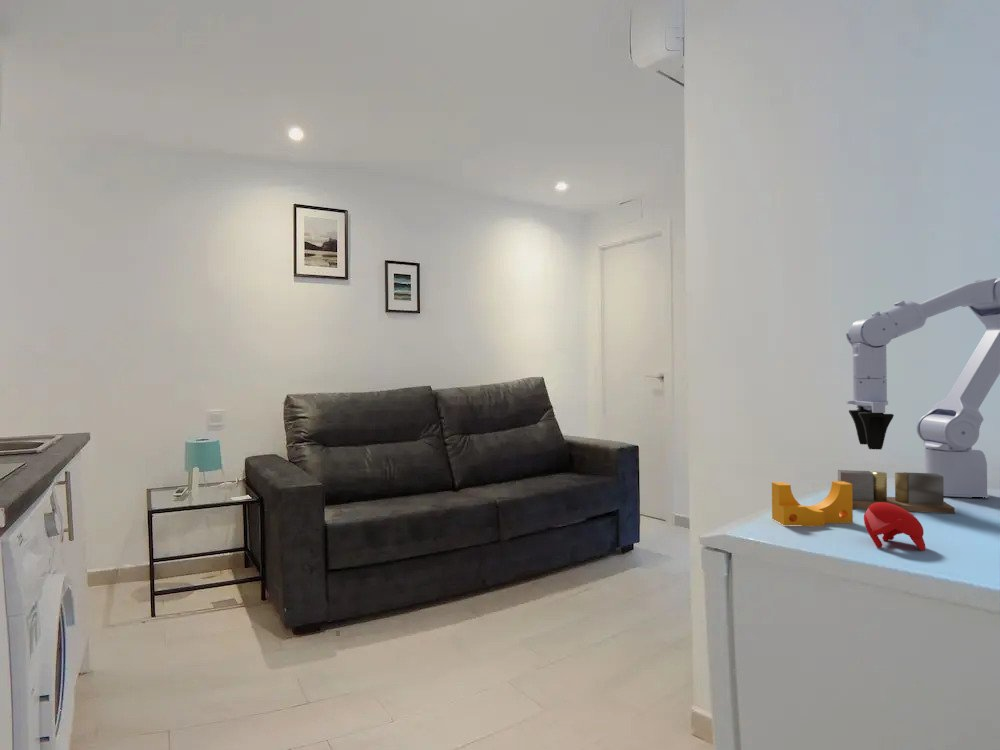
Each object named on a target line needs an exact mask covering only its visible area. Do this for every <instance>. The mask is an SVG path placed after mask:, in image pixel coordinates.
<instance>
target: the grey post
mask: <svg viewBox="0 0 1000 750" xmlns="http://www.w3.org/2000/svg"><path fill="white" fill-rule="evenodd" d="M887 475H888V474H887V472H883V471H869V470H845V469H838V470H837V481H844V482H847V483H850V484H852V500H855V501H881V502H885V501H887V497H888V481H887V480H888V477H887Z"/></svg>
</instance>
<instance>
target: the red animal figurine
mask: <svg viewBox="0 0 1000 750" xmlns="http://www.w3.org/2000/svg"><path fill="white" fill-rule="evenodd" d="M863 521H864V526H865V528H866V531H867V533H868V534H869V536H870V538H871V540H872V542H873V544H874V545H875V547H877V548H882V547H883V545H884V544H883V543H882V540H883V541H884V542H888V541H893V540H894V539H895V536H897V535H901V534H903V535H907V536H908V537H909V539H911V541H912V542H913V543H914V545H915V546H916V547H918V549H919V550H920V551H922V552H923V551H924V552H925V550H926V543H925V540H924V537H923V536H924V533H925V532H924V527H923V525H922V524H921V522H920V521H919V520H918V518H917V517H916V516H915V515H913V513H912V512H910V511H906V510H905V509H903V508H901V507H899V506H897V505H894V504H890V503H885V502H877V503H873V504H871V505H870V506H869V508H868V509H866V511H865V513H864V515H863ZM879 535H882V537H881V539H882V540H881V539H880V538H879Z"/></svg>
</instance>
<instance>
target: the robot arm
mask: <svg viewBox="0 0 1000 750" xmlns="http://www.w3.org/2000/svg"><path fill="white" fill-rule="evenodd" d="M893 305H894V306H893V307H891V308H888V309H886V310H883V311H875V312H872V313H871V317H869V318H862V319H858V320H855V321H854V322H853V323H852V325H850V326H849V329H848V332H846V333H845V336H846V340H847V341H848V343H849V344H850V345H851V347H852V379H853V380H852V390H853V391H852V398H853V399H847V400H846V404H847V405H854V406H855V405H856V409H849V410H848V413H849V415H850V416H851V418H852V421H853V423H854V427H855V430H856V435H857V439H858V442H859V444H860V445H867V448H868V449H869V450H883V447H884V443H885V438H886V434H887V430H888V427H889V425H890V423H891V422H892V420H893V419H894V416H895V415H894V414H893V413H886V406H888V405H889V400H888V393H887V391H888V389H887V388H888V383H887V382H888V379H887V377H888V376H887V373H888V372H887V368H888V367H887V345H888V344H889V343H890V342H892V341H891V340H894V339H896V338H899V337H901V336H903V335H906V334H908V333H911V332H913V331H916V330H918V329H921V328H922V327H924V325H925V324H926V322H927V319H929V318H931V317H933V316H937V315H939V314H942V313H944V312H947V311H950V310H953V309H955V308H959V307H963V308H965V307H967V308H969V309H970V310H971V312H972V313H973V314H974V315H975V316H976V317H977V318H978V319H979V321H980V322H981V323H982V324H983V325H984V327H985V329H986V331H985V332H984V334H983V336H982V337H981V339H980V340H979V343H978V344H977V346H976V347H975V350H974V351H973V353H972V354H971V355H970V357H969V359H968V361H967V363H966V364H965V365H964V367H963V369H962V371H961V373H960V374H959V376H958V377H957V379H956V381H955V382H954V384H953V386H952V387H951V389H950V391H949V392H948V394H947V396H946V397H945V398H944V399H942V400H940V401H939V402H937V403H935V404H934V405H932V407H931V409H930V410H929V411H928V412H927V413H926V414H923V415H922V416H921V417H920V418H919V420H918V421H917V424H916V433H917V436H918V437H919V438H920V439H921V441H923V447H924V473H934V474H939V475H941V476H943V484H944V497H952V498H953V497H954V498H955V497H957V498H972V497H983V498H982V499H989V498H990V496H989V495H988V463H987V458H986V455H985V453H984V452H983V451H982V450H980V449H972V447H973V446H974V445H975V444H976V443H977V442H978V440H979V437H980V428H981V425H982V423H983V422H984V419H985V418H984V417H983V414H981V413H982V412H980V410H979V409H980V407H981V405H982V404H983V402H984V401H985V399H986V397H987V396H988V394H989V392H990V390H991V389H992V387H993V386H994V384H995V382H996V381H997V379H998V378H999V376H1000V276H999V277H993V278H988V279H979V280H978V279H977V280H975V281H973V282H969V283H964V284H960V285H957V286H954V287H953V288H951V289H949V290H946V291H944V292H942V293H939V294H937V295H935V296H933V297H931V298H929V299H927V300H925V301H922V302H919V303H917V302H914V301H912V300H911V301H910V300H909V301H905V300H901V301H897V302H894V304H893ZM984 497H985V498H984ZM988 497H989V498H988Z"/></svg>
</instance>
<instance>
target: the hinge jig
mask: <svg viewBox="0 0 1000 750" xmlns="http://www.w3.org/2000/svg"><path fill="white" fill-rule="evenodd" d="M894 495H895V496H887V501H885V503H890V504H894V505H897V506H899V507H901V508H903V509H905V510H906V511H908V512H913V513H915V512H916V513H932V514H933V513H934V514H938V513H939V514H955V513H956V508H955V507H954V506H952V505H950V503H948V502H945V501H944V497H945V496H944V484H943V476H941V475H939V474H934V473H925V472H895V473H894ZM852 501H853V509H863V510H864V509H865V510H867V509H868V508H869V506H870V505H871V504H873V503H877V502H881V501H855V500H852Z"/></svg>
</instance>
